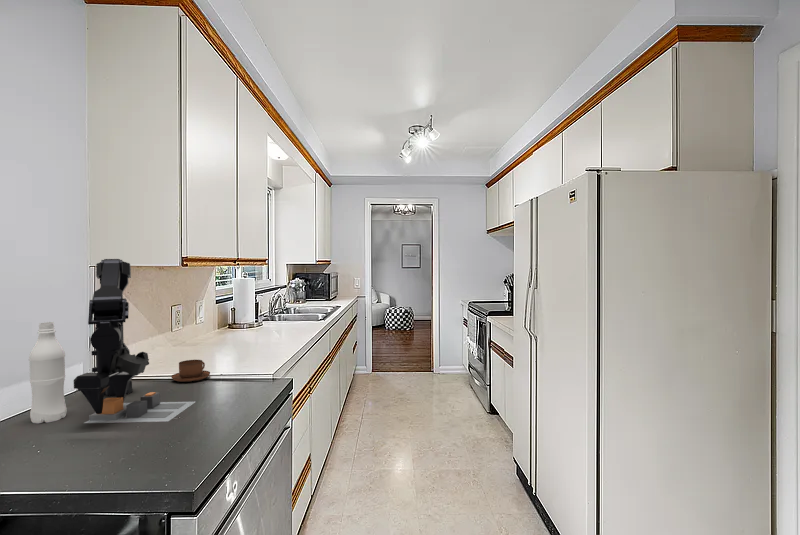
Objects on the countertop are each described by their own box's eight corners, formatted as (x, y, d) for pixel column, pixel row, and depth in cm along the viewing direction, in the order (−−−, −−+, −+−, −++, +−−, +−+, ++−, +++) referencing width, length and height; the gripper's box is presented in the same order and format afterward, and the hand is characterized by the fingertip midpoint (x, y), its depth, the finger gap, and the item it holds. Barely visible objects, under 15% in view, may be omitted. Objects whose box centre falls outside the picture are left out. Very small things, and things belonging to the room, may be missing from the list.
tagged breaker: (140, 408, 123) (140, 395, 123) (148, 403, 127) (148, 391, 127) (152, 408, 123) (152, 395, 123) (160, 403, 127) (159, 391, 127)
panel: (83, 429, 113) (83, 410, 113) (121, 408, 129) (121, 391, 129) (168, 427, 113) (167, 408, 113) (196, 407, 129) (195, 390, 129)
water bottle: (73, 421, 119) (71, 321, 119) (44, 431, 112) (41, 325, 112) (53, 418, 122) (51, 320, 121) (23, 428, 115) (20, 324, 114)
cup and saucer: (182, 375, 167) (181, 358, 167) (216, 375, 167) (215, 358, 167) (164, 384, 155) (163, 365, 155) (200, 384, 155) (200, 365, 155)
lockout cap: (97, 418, 116) (97, 402, 116) (107, 413, 120) (107, 397, 120) (114, 418, 116) (113, 402, 116) (123, 413, 120) (123, 397, 120)
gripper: (120, 351, 109) (122, 419, 109) (160, 338, 127) (161, 396, 128) (71, 352, 109) (72, 420, 109) (118, 339, 127) (119, 397, 128)
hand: (110, 407), depth 118 cm, fingers open, 9 cm apart
